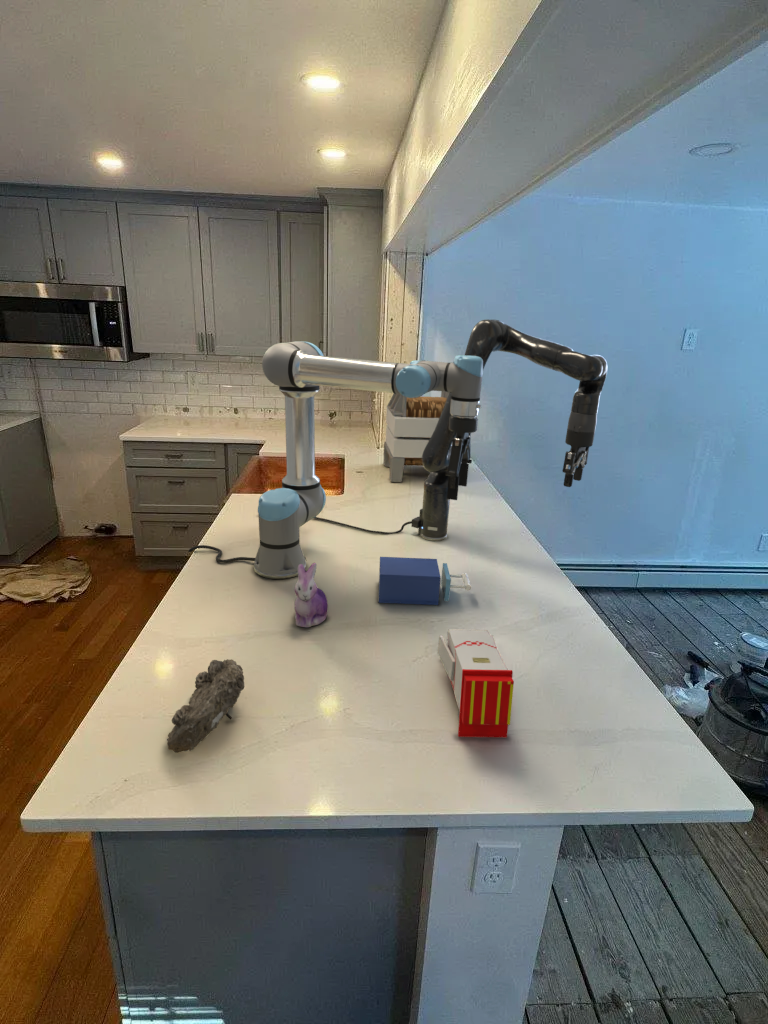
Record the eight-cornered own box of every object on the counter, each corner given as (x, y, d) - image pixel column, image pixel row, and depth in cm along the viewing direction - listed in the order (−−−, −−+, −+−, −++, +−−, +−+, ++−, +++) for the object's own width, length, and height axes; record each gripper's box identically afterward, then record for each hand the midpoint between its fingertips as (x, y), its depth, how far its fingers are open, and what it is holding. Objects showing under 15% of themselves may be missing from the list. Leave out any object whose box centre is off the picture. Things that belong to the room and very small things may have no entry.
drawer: (465, 584, 163) (467, 564, 161) (470, 602, 153) (473, 580, 151) (393, 582, 162) (394, 561, 160) (393, 599, 153) (395, 577, 151)
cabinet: (434, 585, 164) (436, 558, 161) (438, 605, 153) (440, 576, 150) (378, 583, 163) (380, 556, 160) (378, 602, 153) (379, 574, 150)
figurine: (299, 632, 137) (299, 576, 132) (286, 613, 145) (285, 559, 140) (336, 624, 141) (336, 570, 136) (320, 605, 149) (321, 553, 144)
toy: (488, 613, 130) (523, 677, 101) (484, 667, 133) (517, 744, 104) (435, 612, 130) (455, 676, 101) (432, 666, 133) (451, 743, 103)
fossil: (192, 660, 117) (244, 628, 112) (224, 691, 120) (276, 661, 115) (142, 746, 98) (202, 712, 93) (182, 779, 101) (242, 748, 96)
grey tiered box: (382, 463, 289) (386, 382, 275) (445, 464, 293) (451, 384, 279) (390, 482, 257) (394, 392, 243) (460, 483, 261) (468, 394, 247)
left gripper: (469, 425, 138) (461, 507, 145) (485, 410, 161) (477, 482, 168) (439, 422, 140) (433, 503, 147) (459, 407, 163) (453, 478, 170)
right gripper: (576, 423, 167) (567, 475, 173) (559, 429, 156) (551, 485, 162) (602, 426, 163) (592, 480, 169) (586, 434, 152) (577, 491, 158)
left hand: (457, 492), depth 158 cm, fingers open, 13 cm apart
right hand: (572, 483), depth 165 cm, fingers open, 8 cm apart
